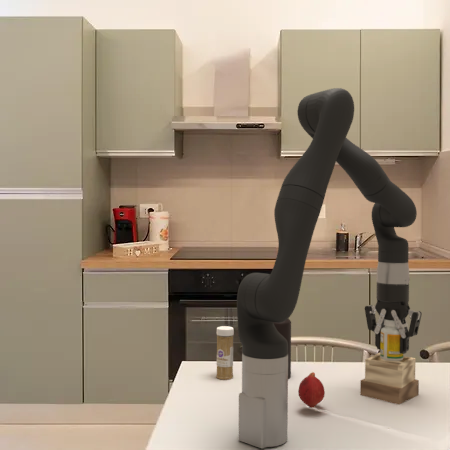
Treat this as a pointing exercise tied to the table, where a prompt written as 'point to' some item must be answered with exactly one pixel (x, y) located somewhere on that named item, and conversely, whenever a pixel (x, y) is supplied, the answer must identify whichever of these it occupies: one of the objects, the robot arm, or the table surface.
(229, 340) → the sprinkles bottle
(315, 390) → the onion
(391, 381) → the tower top
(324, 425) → the table surface
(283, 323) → the vinegar
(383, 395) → the tower base
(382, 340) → the supplement bottle
